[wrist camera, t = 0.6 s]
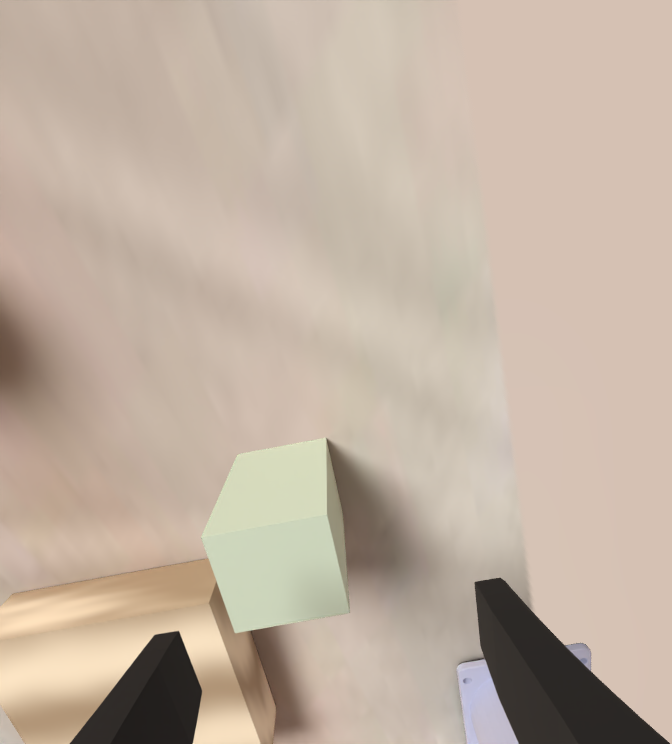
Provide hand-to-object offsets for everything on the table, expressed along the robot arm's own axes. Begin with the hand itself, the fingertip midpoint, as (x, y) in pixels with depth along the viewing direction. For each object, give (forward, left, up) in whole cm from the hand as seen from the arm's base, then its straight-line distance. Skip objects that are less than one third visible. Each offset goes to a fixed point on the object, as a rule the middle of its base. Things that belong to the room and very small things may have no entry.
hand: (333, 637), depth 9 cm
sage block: (-2, +2, -10) cm, 11 cm away
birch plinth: (-11, +13, -10) cm, 20 cm away
